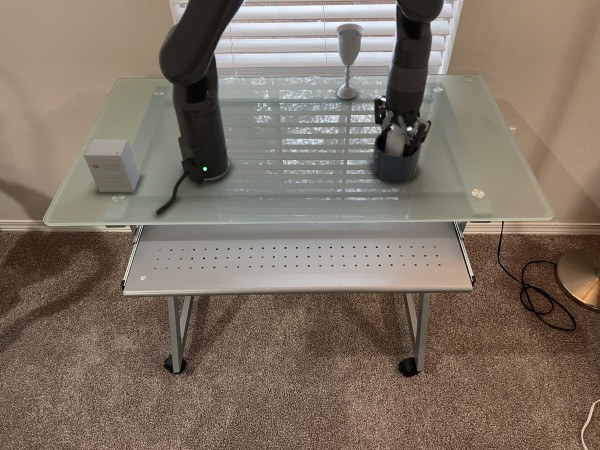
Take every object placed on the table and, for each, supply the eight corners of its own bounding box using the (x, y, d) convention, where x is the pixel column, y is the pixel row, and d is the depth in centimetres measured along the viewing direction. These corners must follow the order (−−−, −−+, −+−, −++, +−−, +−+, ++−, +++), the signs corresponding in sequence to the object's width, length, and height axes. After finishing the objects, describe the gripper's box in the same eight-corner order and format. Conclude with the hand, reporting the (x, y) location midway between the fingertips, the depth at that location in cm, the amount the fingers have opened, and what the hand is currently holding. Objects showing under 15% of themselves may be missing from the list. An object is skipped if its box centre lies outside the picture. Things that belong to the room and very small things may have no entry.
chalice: (357, 102, 135) (361, 37, 122) (332, 100, 136) (334, 35, 123) (360, 88, 140) (365, 24, 127) (336, 85, 141) (338, 22, 128)
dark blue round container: (395, 189, 110) (399, 164, 105) (362, 167, 116) (364, 142, 111) (425, 169, 115) (430, 144, 110) (392, 149, 120) (395, 124, 115)
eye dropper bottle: (385, 171, 112) (392, 126, 104) (382, 156, 116) (388, 111, 108) (405, 171, 112) (413, 126, 104) (401, 155, 116) (409, 111, 108)
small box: (141, 176, 115) (128, 139, 107) (133, 193, 111) (120, 155, 103) (106, 175, 115) (92, 138, 108) (98, 192, 111) (82, 154, 104)
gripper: (367, 73, 101) (360, 141, 114) (422, 103, 94) (409, 172, 106) (392, 61, 105) (383, 128, 117) (448, 88, 97) (432, 157, 109)
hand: (396, 149), depth 111 cm, fingers closed on eye dropper bottle, 5 cm apart
